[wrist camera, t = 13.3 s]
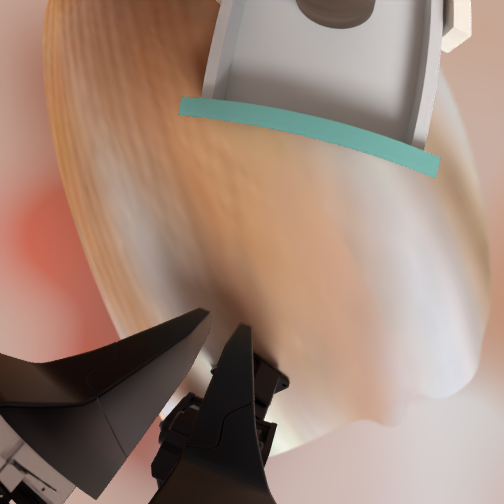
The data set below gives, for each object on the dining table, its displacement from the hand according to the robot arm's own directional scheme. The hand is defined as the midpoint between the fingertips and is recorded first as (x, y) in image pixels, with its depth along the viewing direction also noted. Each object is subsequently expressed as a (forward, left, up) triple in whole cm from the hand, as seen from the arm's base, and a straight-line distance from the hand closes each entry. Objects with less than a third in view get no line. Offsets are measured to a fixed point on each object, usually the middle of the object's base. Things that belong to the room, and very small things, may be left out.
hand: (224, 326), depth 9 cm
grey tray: (+12, +7, -13) cm, 19 cm away
